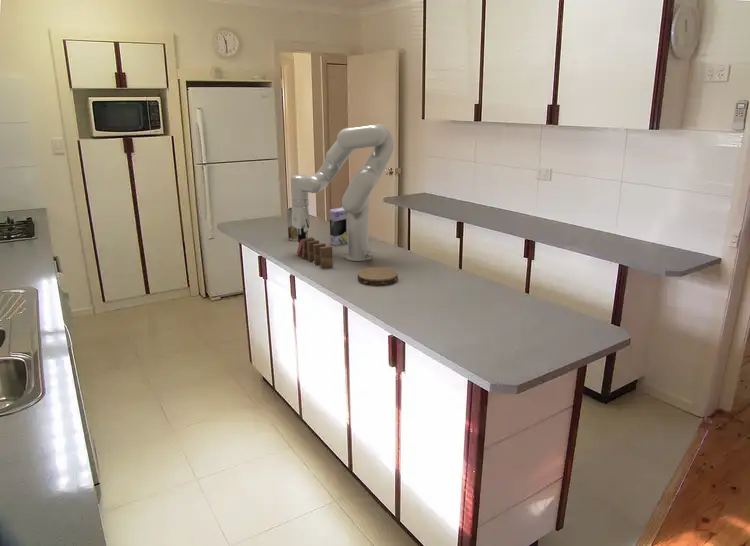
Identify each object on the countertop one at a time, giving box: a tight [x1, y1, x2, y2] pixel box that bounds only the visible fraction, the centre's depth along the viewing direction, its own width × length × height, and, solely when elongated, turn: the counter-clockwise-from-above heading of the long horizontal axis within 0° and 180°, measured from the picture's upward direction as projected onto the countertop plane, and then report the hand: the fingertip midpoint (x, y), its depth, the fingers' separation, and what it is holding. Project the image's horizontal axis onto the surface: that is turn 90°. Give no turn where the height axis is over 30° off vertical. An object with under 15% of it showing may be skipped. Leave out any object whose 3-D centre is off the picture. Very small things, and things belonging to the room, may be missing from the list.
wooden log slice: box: [357, 267, 399, 287], centre depth 216 cm, size 16×16×3 cm
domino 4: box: [319, 245, 334, 270], centre depth 231 cm, size 2×5×9 cm, turn 123°
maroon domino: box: [296, 239, 303, 257], centre depth 248 cm, size 2×5×9 cm
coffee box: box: [286, 207, 309, 242], centre depth 276 cm, size 9×6×16 cm
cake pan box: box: [328, 206, 347, 246], centre depth 271 cm, size 19×5×18 cm, turn 131°
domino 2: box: [307, 239, 320, 263], centre depth 240 cm, size 2×5×9 cm, turn 123°
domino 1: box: [301, 237, 315, 260], centre depth 244 cm, size 2×5×9 cm, turn 123°
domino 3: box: [313, 242, 327, 266], centre depth 235 cm, size 2×5×9 cm, turn 123°
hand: (302, 242), depth 249 cm, fingers closed
